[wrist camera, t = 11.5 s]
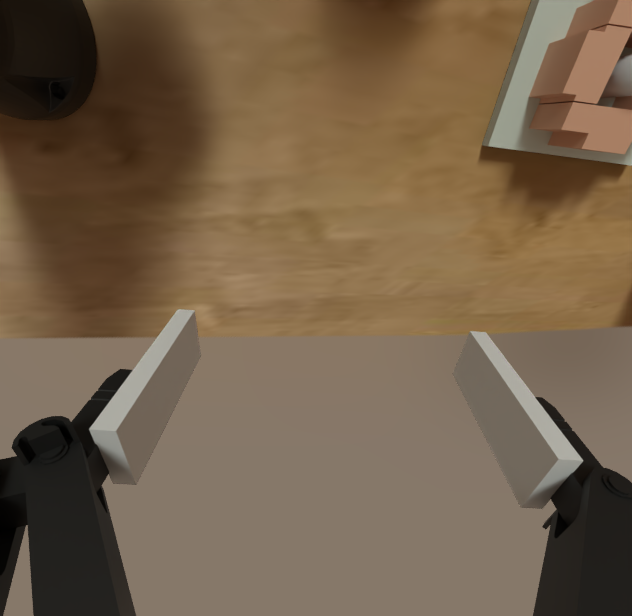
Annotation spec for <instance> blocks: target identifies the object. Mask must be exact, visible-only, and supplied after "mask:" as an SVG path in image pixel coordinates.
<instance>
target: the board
mask: <svg viewBox="0 0 632 616" xmlns="http://www.w3.org/2000/svg"><path fill="white" fill-rule="evenodd" d="M592 1H594V0H531V3H530V6H529V9H528V12H527V15H526V17H525V20H524V23H523V26H522V29H521V32H520V35H519V38H518V41H517V44H516V47H515V50H514V53H513V56H512V58H511V61H510V64H509V67H508V70H507V73H506V76H505V79H504V82H503V85H502V88H501V91H500V94H499V97H498V99H497V102H496V105H495V108H494V111H493V114H492V117H491V120H490V123H489V126H488V129H487V132H486V135H485V138H484V140H483V143H482V145H483V146H490V147H498V148H505V149H513V150H520V151H528V152H535V153H542V154H550V155H557V156H565V157H572V158H580V159H587V160H595V161H602V162H610V163H617V164H624V165H632V142H631V144H630V146H629V148H628V149H627V151H626V153H625V154H617V153H608V152H599V151H590V150H581V149H574V148H566V147H559V146H551V145H548V142H549V140H550V138H551V135H552V133H553V132H552V131H545V130H537V129H530V128H529V127H530V125H531V122H532V120H533V117H534V115H535V112H536V110H537V107H538V105H542V104H539V102H540V100H541V99H540V98H533V97H529V95H530V92H531V90H532V87H533V84H534V82H535V79H536V77H537V74H538V71H539V69H540V66H541V63H542V61H543V58H544V56H545V53H546V50H547V48H548V45H549V43H552V42H555V41H558V40H561V39H564V38H565V37H566V34H567V32H568V29H569V27H570V24H571V22H572V19H573V17H574V14H575V12H576V9H577V8H578V7H581V6H583V5H585V4H587V3H590V2H592ZM623 96H632V48H628V47H624V49H623V51H622V53H621V55H620V57H619V59H618V61H617V63H616V65H615V67H614V70H613V72H612V74H611V76H610V78H609V80H608V82H607V84H606V86H605V88H604V91H603V93H602V95H601V97H600V99H599V101H598V103H597V104H591V105H598V106H605V107H612V105H613V103H614V101H615V99H616V97H623Z"/></svg>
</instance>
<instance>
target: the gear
mask: <svg viewBox="0 0 632 616" xmlns="http://www.w3.org/2000/svg"><path fill="white" fill-rule="evenodd" d="M624 47H628V48H632V0H594V1H592V2H590V3H587V4H585V5H583V6H581V7H578V8H577V9H576V12H575V14H574V17H573V19H572V22H571V24H570V27H569V29H568V32H567V34H566V37H565V38H564V39H561V40H558V41H555V42H552V43H549V45H548V48H547V50H546V53H545V56H544V58H543V61H542V63H541V66H540V69H539V71H538V74H537V77H536V79H535V82H534V84H533V87H532V90H531V92H530V95H529V97H533V98H540V99H541V100H540V102H539V104H542V105H538V107H537V110H536V112H535V115H534V117H533V120H532V122H531V125H530V127H529V128H530V129H537V130H545V131H552V132H553V133H552V135H551V138H550V140H549V142H548V145H551V146H559V147H566V148H574V149H581V150H590V151H599V152H608V153H617V154H625V153H626V151H627V149H628V148H629V146H630V144H631V142H632V96H623V97H616V99H615V101H614V103H613V105H612V107H605V106H598V105H591V104H597V103H598V101H599V99H600V97H601V95H602V93H603V91H604V88H605V86H606V84H607V82H608V80H609V78H610V76H611V74H612V72H613V70H614V67H615V65H616V63H617V61H618V59H619V57H620V55H621V53H622V51H623V49H624Z"/></svg>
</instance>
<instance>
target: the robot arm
mask: <svg viewBox="0 0 632 616" xmlns="http://www.w3.org/2000/svg"><path fill="white" fill-rule="evenodd" d="M95 71H96V48H95V41H94V35H93V31H92V27H91V23H90V20H89V17H88V14H87V11H86V9H85V6H84V4H83V1H82V0H0V113H1V114H4V115H7V116H11V117H15V118H20V119H27V120H54V119H59V118H63V117H65V116H68V115H70V114H71V113H73V112H74V111H76V110H77V109H78V108H79V107H80V106H81V105H82V104H83V103H84V101H85V100H86V98H87V97H88V95H89V93H90V91H91V88H92V85H93V82H94V77H95ZM200 357H201V353H200V346H199V339H198V331H197V324H196V317H195V310H182V309H178V310H177V311H176V313H175V314H174V315H173V317H172V318H171V319H170V321H169V322H168V323H167V325H166V326H165V327H164V329H163V330H162V332H161V333H160V334H159V336H158V337H157V338H156V340H155V341H154V342H153V344H152V345H151V346H150V348H149V349H148V350H147V352H146V353H145V355H144V356H143V357H142V358H141V360H140V361H139V363H138V364H137V365H136V367H135V368H134V369H133V370H126V369H120V370H118V371H117V372H116V373H114V374H113V375H111V376H110V377H108V378H107V379H106V380H105V382H104V383H103V384H102V385H101V386H100V388H99V389H98V391H96V393H95V394H94V395H93V396H92V397H91V400H89V401H88V402H87V404H86V405H85V406H84V407H83V408H82V410H81V411H80V412H79V413H78V415H77V416H76V417H75V418H74V419H73V421H72V422H70V420H69V419H68V418H65V417H63V416H52V417H48V418H44V419H41V420H39V421H37V422H35V423H33V424H31V425H29V426H28V427H26V428H25V429H24V430H22V431H21V432H20V433H19V434H18V436H17V437H16V438H15V439H14V442H13V445H12V449H13V450H14V452H15V453H16V455H17V456H16V457H11V458H6V459H1V460H0V616H3V613H4V610H5V606H6V602H7V598H8V594H9V590H10V586H11V582H12V578H13V574H14V570H15V566H16V562H17V558H18V555H19V550H20V546H21V543H22V539H23V535H24V531H25V527H26V525H28V536H29V551H30V566H31V583H32V598H33V613H34V616H136V614H135V610H134V606H133V602H132V598H131V594H130V591H129V587H128V583H127V579H126V575H125V571H124V567H123V563H122V559H121V556H120V552H119V548H118V544H117V540H116V536H115V532H114V528H113V524H112V521H111V517H110V513H109V509H108V505H107V501H106V497H105V494H104V490H103V488H102V484H103V482H104V480H105V479H106V477H107V475H108V474H109V475H110V478H111V480H112V482H113V483H114V484H115V483H116V484H132V485H136V484H137V482H138V480H139V478H140V476H141V474H142V472H143V470H144V468H145V466H146V464H147V462H148V460H149V458H150V456H151V454H152V453H153V450H154V448H155V446H156V445H157V442H158V440H159V439H160V437H161V435H162V433H163V431H164V429H165V427H166V425H167V423H168V420H169V418H170V417H171V415H172V413H173V411H174V408H175V407H176V405H177V403H178V401H179V399H180V397H181V395H182V392H183V391H184V389H185V387H186V385H187V383H188V381H189V379H190V377H191V375H192V373H193V371H194V369H195V367H196V365H197V363H198V361H199V359H200ZM453 376H454V378H455V380H456V382H457V384H458V385H459V387H460V389H461V391H462V393H463V395H464V397H465V399H466V401H467V403H468V405H469V407H470V409H471V411H472V413H473V415H474V417H475V419H476V421H477V423H478V425H479V427H480V429H481V431H482V432H483V434H484V436H485V438H486V440H487V442H488V444H489V446H490V448H491V450H492V452H493V454H494V456H495V458H496V460H497V462H498V464H499V466H500V468H501V470H502V472H503V474H504V476H505V478H506V480H507V482H508V484H509V485H510V487H511V489H512V491H513V493H514V495H515V497H516V499H517V501H518V503H519V505H520V507H522V508H539V509H540V508H541V509H542V508H543V507H544V506H545V505H546V504H547V503H548V501H549V500H550V499H551V500H552V502H553V504H554V505H555V507H556V508H557V510H556V511H555V512H554V513H553V514H552V515H551V516H550V517H549V518H548V520H547V521H546V522H545V523H544V525H543V528H545V529H547V528H548V526H549V525H551V526H550V531H549V536H548V541H547V547H546V552H545V557H544V562H543V567H542V573H541V577H540V582H539V588H538V593H537V598H536V603H535V608H534V613H533V616H632V483H631V482H630V481H629V480H628V479H626V478H625V477H623V476H622V475H620V474H618V473H617V472H615V471H612V470H610V469H607V468H603V467H602V466H601V465H600V463H599V462H598V461H597V459H596V458H595V457H594V456H593V454H592V453H591V452H590V451H589V449H588V448H587V447H586V446H585V444H584V443H583V442H582V441H581V440H580V438H579V437H578V436H577V435H576V433H575V432H574V431H572V428H571V427H570V426H569V425H568V423H567V422H565V421H564V418H563V417H562V416H561V415H560V413H559V412H558V411H557V410H556V408H555V407H553V406H552V405H551V404H550V403H548V402H547V401H546V400H545V399H543V398H540V397H534V395H533V394H532V393H531V391H530V390H529V389H528V387H527V386H526V385H525V383H524V382H523V381H522V379H521V378H520V377H519V376H518V374H517V373H516V372H515V370H514V369H513V368H512V366H511V365H510V364H509V362H508V361H507V360H506V359H505V357H504V356H503V354H502V353H501V352H500V351H499V349H498V348H497V347H496V345H495V344H494V343H493V342H492V340H491V339H490V337H489V336H488V335H487V333H486V332H474V331H470V332H469V335H468V337H467V340H466V342H465V345H464V347H463V350H462V352H461V355H460V357H459V359H458V362H457V364H456V367H455V369H454V372H453Z"/></svg>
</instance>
